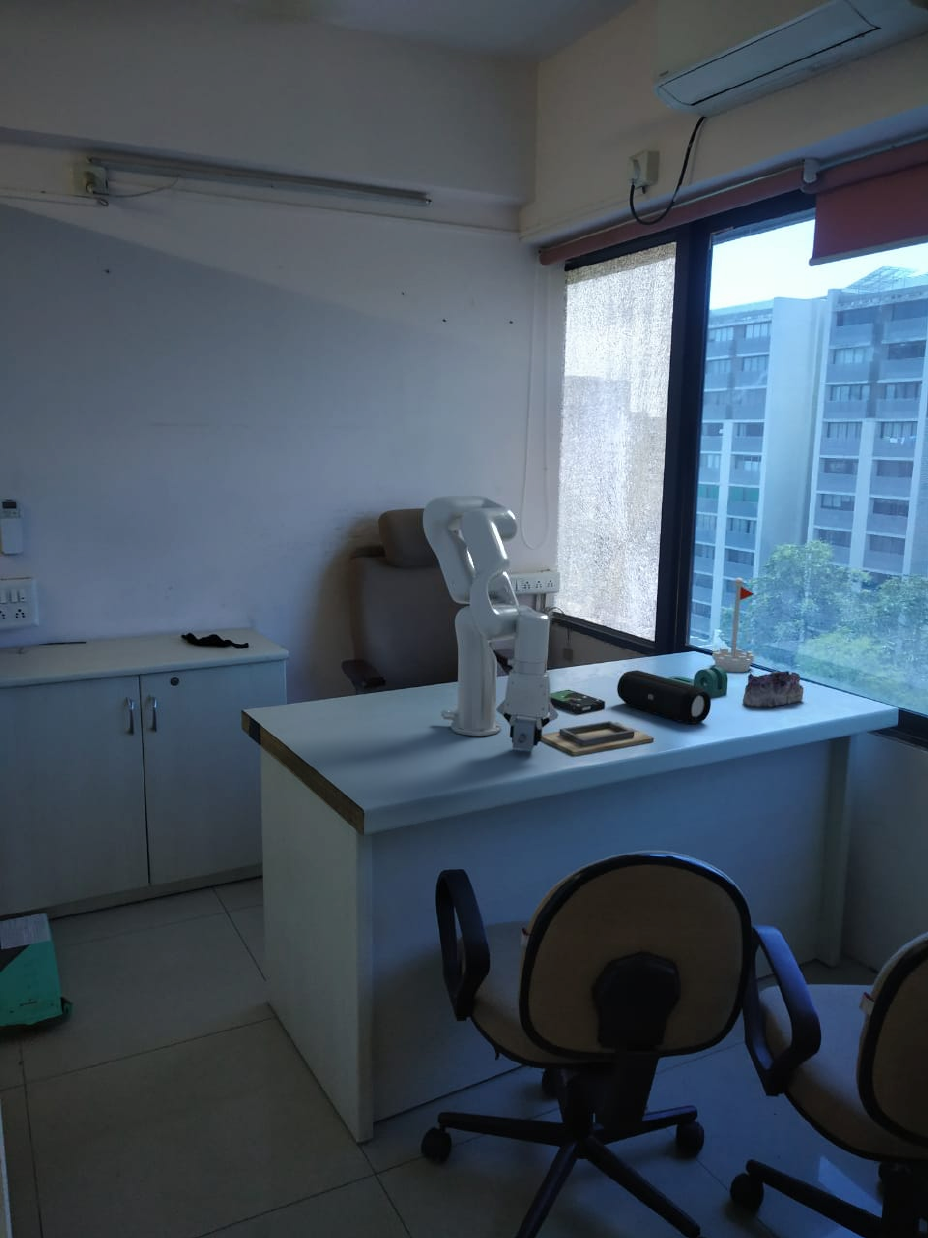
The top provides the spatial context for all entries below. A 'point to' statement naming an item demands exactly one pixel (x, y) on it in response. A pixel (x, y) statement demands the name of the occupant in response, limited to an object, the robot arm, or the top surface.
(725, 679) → the bracket
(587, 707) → the disk drive
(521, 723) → the connector plug
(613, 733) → the end holder
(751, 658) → the flag stand
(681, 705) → the portable speaker
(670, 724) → the top surface
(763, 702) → the geode
